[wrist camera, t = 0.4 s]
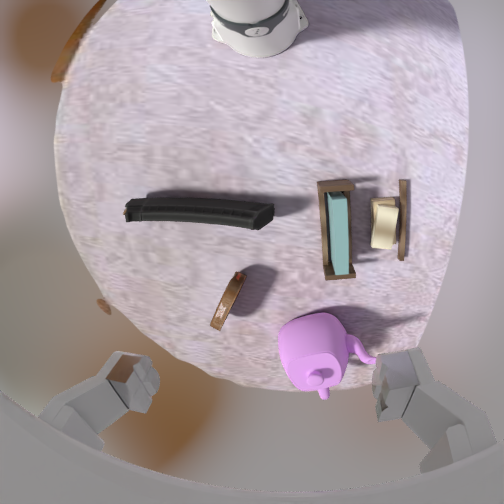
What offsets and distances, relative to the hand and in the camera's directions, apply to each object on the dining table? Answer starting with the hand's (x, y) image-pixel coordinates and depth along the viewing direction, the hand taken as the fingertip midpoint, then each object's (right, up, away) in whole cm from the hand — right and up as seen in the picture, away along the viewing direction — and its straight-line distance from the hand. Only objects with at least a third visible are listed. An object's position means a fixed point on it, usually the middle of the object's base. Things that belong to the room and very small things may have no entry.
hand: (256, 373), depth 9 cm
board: (+16, +10, +44) cm, 48 cm away
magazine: (-11, +14, +47) cm, 50 cm away
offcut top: (+26, +9, +40) cm, 48 cm away
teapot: (+16, -16, +56) cm, 60 cm away
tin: (-5, -5, +54) cm, 54 cm away
